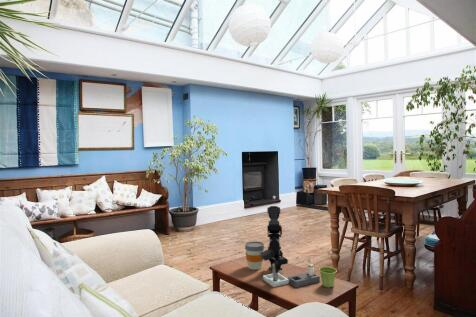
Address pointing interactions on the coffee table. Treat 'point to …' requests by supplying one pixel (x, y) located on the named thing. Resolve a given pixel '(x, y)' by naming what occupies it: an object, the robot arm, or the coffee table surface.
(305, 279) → the fuse holder
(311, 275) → the cylinder
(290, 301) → the coffee table surface
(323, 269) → the plant pot
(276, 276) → the cream capped cylinder
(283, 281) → the parts tray
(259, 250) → the reusable coffee cup
